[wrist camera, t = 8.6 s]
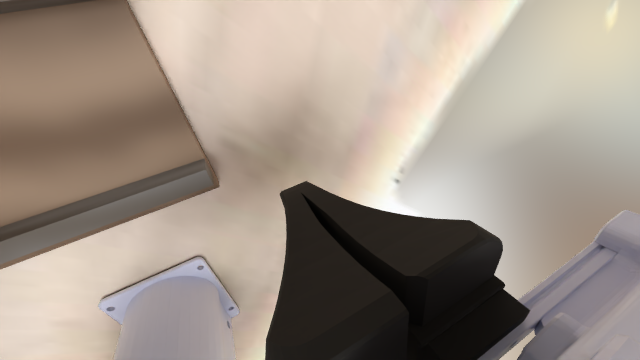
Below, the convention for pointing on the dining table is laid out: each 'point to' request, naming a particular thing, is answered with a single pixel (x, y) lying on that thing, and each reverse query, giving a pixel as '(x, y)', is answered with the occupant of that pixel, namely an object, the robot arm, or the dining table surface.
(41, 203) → the bay
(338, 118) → the dining table surface
